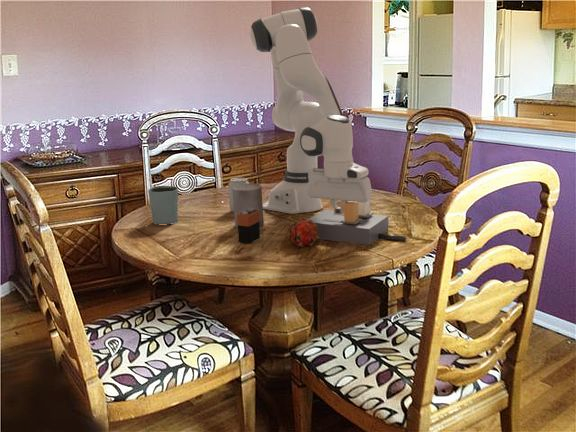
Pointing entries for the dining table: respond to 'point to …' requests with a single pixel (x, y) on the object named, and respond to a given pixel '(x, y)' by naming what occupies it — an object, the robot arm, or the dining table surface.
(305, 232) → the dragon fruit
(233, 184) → the can
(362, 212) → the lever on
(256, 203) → the pillar candle
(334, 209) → the robot arm
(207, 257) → the dining table surface
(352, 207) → the orange block
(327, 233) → the breaker strip
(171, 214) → the grey bin
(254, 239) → the battery
